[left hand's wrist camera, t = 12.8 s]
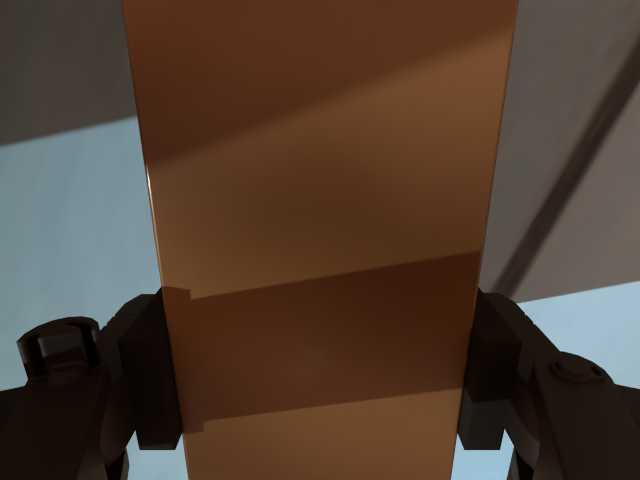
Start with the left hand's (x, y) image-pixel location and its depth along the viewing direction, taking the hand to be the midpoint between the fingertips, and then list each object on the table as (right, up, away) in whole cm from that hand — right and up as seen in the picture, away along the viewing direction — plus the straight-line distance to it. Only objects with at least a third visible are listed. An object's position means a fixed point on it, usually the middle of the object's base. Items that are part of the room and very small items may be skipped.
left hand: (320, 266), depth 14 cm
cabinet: (0, +5, +2) cm, 6 cm away
